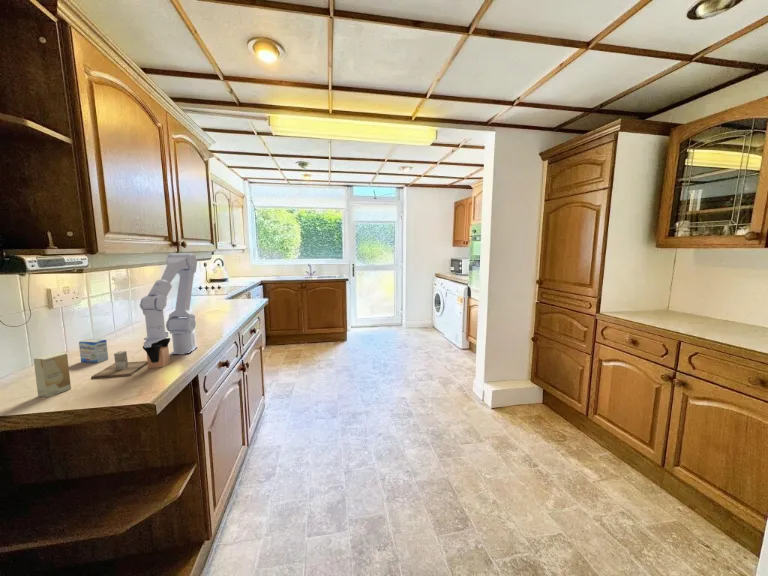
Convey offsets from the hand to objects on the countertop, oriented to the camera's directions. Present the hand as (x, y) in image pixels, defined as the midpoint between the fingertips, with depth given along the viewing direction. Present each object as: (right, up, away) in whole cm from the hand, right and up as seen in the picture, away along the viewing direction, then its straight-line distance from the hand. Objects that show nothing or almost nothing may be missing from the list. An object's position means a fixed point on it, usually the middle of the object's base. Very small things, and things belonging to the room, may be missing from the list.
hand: (158, 359), depth 120 cm
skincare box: (-16, -5, -23) cm, 28 cm away
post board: (-10, -3, -5) cm, 12 cm away
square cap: (0, -2, 0) cm, 2 cm away
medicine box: (-30, -2, +5) cm, 30 cm away
